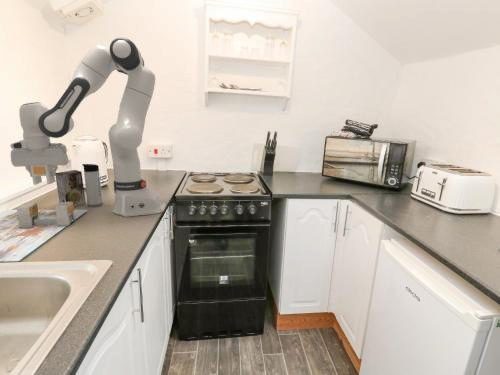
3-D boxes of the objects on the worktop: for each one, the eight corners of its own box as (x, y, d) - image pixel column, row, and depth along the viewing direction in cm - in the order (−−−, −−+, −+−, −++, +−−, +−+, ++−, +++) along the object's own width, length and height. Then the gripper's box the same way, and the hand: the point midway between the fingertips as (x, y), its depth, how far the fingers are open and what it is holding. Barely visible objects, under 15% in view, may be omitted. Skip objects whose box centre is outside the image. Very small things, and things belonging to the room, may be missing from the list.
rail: (76, 220, 121) (74, 201, 119) (70, 225, 115) (68, 206, 113) (28, 222, 118) (25, 202, 116) (19, 227, 112) (16, 207, 110)
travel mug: (85, 204, 141) (80, 163, 136) (99, 202, 146) (95, 162, 141) (89, 207, 137) (84, 165, 132) (104, 205, 141) (100, 163, 136)
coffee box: (78, 201, 146) (74, 169, 142) (86, 203, 142) (82, 171, 138) (59, 206, 138) (54, 172, 134) (66, 208, 135) (62, 174, 131)
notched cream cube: (39, 181, 127) (36, 163, 125) (55, 181, 128) (52, 163, 126) (32, 185, 122) (29, 166, 120) (49, 184, 123) (46, 165, 121)
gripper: (68, 142, 126) (73, 173, 130) (14, 143, 122) (20, 175, 126) (62, 143, 120) (67, 176, 124) (5, 144, 116) (12, 178, 120)
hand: (43, 176), depth 125 cm, fingers closed on notched cream cube, 6 cm apart
